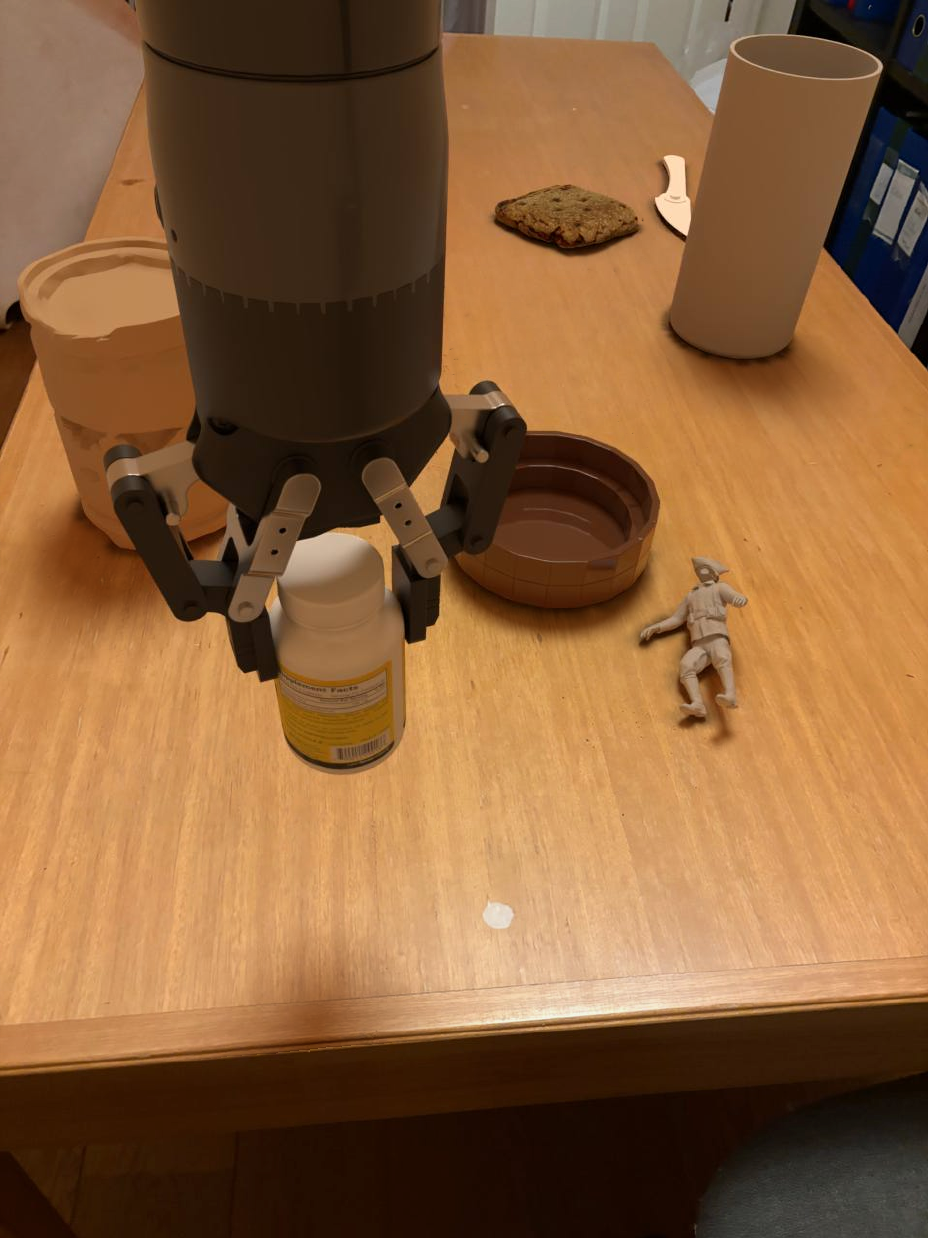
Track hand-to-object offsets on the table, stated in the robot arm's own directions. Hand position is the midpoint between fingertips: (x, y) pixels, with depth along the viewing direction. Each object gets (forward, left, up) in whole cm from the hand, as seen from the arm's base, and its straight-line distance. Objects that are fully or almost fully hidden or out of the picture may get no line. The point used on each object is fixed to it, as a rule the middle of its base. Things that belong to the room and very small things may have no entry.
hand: (338, 645), depth 37 cm
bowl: (+22, -22, -19) cm, 36 cm away
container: (+36, +4, -19) cm, 41 cm away
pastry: (+74, -49, -19) cm, 91 cm away
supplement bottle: (0, 0, -6) cm, 6 cm away
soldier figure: (+8, -27, -19) cm, 34 cm away
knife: (+77, -65, -19) cm, 103 cm away
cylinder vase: (+46, -54, -19) cm, 73 cm away
